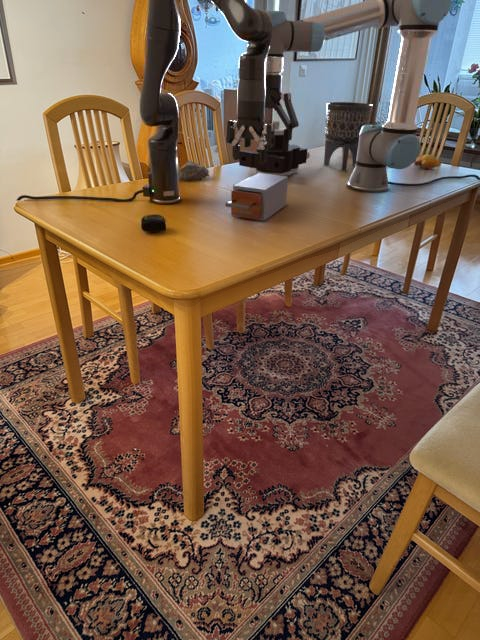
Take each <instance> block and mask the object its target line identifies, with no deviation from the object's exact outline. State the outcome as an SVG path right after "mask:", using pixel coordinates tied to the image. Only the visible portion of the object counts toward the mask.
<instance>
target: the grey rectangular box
mask: <svg viewBox="0 0 480 640" xmlns="http://www.w3.org/2000/svg"><path fill="white" fill-rule="evenodd" d="M288 181H289V176H288V175H286V176H279V175H271V174H263V173H256V174H254V175H252V176H249V177H248V178H246V179H244V180H241V181H239V182H237V183H235V184H233V186H232V190H237V191H238V190H245V191H252V192H259V193H262V199H261V216H260V219H253V218H247V217H241V216H235V215H232V216H233V217H237V218H244V219H250V220H255V221H262V222H264V221H266V220H267V219H268V218H270V217H271V216H273V215H274V214H276V213H277V212H278V211H280V210H281V209H283V208H284V207H285V206H287V197H288V195H287V194H288Z"/></svg>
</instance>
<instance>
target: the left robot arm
mask: <svg viewBox="0 0 480 640" xmlns="http://www.w3.org/2000/svg"><path fill="white" fill-rule="evenodd" d="M210 1H211V3H212V4H213V5H215V7H216V9H217V10H218V11H219V12H220V13H221V14H222V15H223V16H224V18H225V20H226V22H227V24H228V26H229V27H230V30H231V31H232V32H233V33H234V35H235V36H236V37H237V38H238V39H239V40H241V41H243V42H247V46H246V51H245V52H243V53H242V54H241V55H239V59H238V82H237V94H236V95H237V96H236V97H237V99H236V100H237V101H236V116H237V120H235V119H229V120H227V122H226V144H230V145H231V146H232V158H233V160H234V161H239V159H240V151H241V143H242V141H243V140H245V139H248V138H249V139H251V141H252V140H253V141H255V143H257V144H258V147H260V148H261V150H260V164H264V163H265V161H267V151H268V149H269V148H271V147H274V145H275V125H274V124H273V123H269V124H268V123H265V115H266V108H265V98H266V86H265V71H266V59H267V55H268V52H269V47H270V43H271V39H272V31H273V26H272V20H271V17H270V15H269V14H268V13H267V12H266V11H267V10H264V9H261V8H254V7H251V6H250V5H249V4H248V2H247V0H210ZM147 8H148V9H147V18H146V19H147V21H146V36H145V37H146V38H145V55H144V56H145V58H144V69H143V77H142V84H141V91H140V97H139V115H140V119H141V121H142V123H143V124H144V125H145V126H147V127H158V128H157V131H156V132H155V134H153V135H152V136H150V137H149V138H148V139H147V149H148V161H149V172H148V173H147V178H148V181H147V182H148V183H147V184H146V185H144V186H142V189H139V190H136V191H135V192H134V193H133V195H132V196H131V197H130V198H117V197H99V196H84V195H83V196H81V195H44V196H43V195H41V196H33V195H27V194H23V195H20V196H18V197H17V199H16V202H19V201H21V200H23V199H27V200H28V199H29V200H39V201H40V200H91V201H106V202H108V201H109V202H110V201H111V202H117V203H118V202H119V203H121V202H123V203H125V202H133V201H135V200H136V198H137V195H139V194H142V196H143V197H146V198H149V202H153V203H155V204H159V205H170V204H171V205H172V204H176V203H178V202H180V185H179V184H180V183H179V180H178V173H179V165H178V141H179V106H178V102H177V100H176V98H175V96H173V94H171V93H169V92H161V90H162V84H163V81H164V78H165V75H166V73H167V71H168V69H170V66H171V65H172V63H173V61H174V59H175V57H176V56H177V53H178V50H179V45H180V44H179V43H180V36H181V26H182V25H181V24H182V23H181V16H180V12H179V8H178V4H177V2H176V0H148V7H147ZM236 128H237V130H238V131H237V133H236ZM264 129H265V132H266V133H267V142H266V138H265V136H264Z"/></svg>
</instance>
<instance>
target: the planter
mask: <svg viewBox="0 0 480 640" xmlns="http://www.w3.org/2000/svg"><path fill="white" fill-rule="evenodd" d="M373 107H374V106H373V104H372V103H367V102H353V101H333V102H327V103H326V109H325V124H324V125H325V126H324V139H325V144H324V156H323V157H324V158H323V165H325V166H328V165H330V163H331V158H332V156H333V154H334V153H335V151H336V150H337V149H340V148H341V152H342V153H341V166H340V170H341V172H345V171H347V167H348V166H347V165H348V159H349V154H348V152H349V150H350V151H351V153H352V154H351V157H352V158H351V159H352V160H351V161H352V166H353V167H355V165H356V158H357V151H358V144H359V135H360V131H361V128H362V126H364V125H370V121H371V116H372V112H373Z"/></svg>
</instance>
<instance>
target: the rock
mask: <svg viewBox="0 0 480 640" xmlns="http://www.w3.org/2000/svg"><path fill="white" fill-rule="evenodd" d="M209 172H210V171H209V169H208V168H207V167H206V166H205V165H202V164H200V163H196V162H193V161H192V160H188V161H186V163H185V164H183V165H182V166H181V167H180V168H178V181H183V182H196V181H197V182H198V181H202V179H205V178H207V177H210V173H209Z"/></svg>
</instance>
